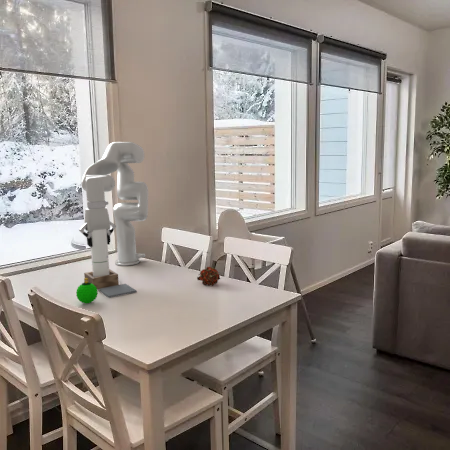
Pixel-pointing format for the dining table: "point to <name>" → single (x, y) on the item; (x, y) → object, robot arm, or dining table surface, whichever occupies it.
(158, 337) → the dining table surface
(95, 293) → the ornament
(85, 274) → the box
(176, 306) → the dining table surface
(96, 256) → the cylindrical container
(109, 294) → the mat
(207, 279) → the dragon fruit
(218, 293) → the dining table surface
